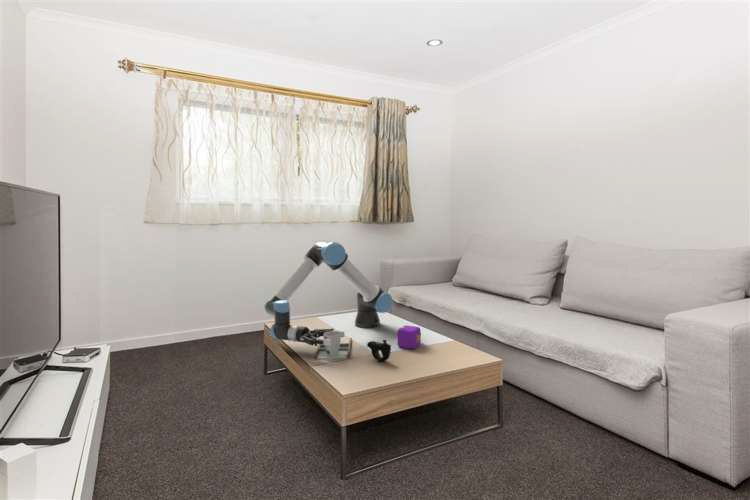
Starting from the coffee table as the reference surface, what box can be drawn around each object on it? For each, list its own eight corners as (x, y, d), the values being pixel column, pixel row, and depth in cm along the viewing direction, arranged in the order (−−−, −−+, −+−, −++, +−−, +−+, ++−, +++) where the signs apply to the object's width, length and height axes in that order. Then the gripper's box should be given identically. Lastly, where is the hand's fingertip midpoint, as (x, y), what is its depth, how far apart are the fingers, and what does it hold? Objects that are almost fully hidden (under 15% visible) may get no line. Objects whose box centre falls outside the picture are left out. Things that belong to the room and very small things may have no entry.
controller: (386, 364, 184) (386, 342, 183) (366, 359, 192) (365, 337, 191) (393, 362, 187) (392, 340, 186) (372, 356, 195) (371, 335, 194)
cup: (324, 351, 202) (323, 331, 201) (341, 350, 203) (340, 330, 202) (323, 357, 194) (323, 336, 193) (341, 356, 195) (340, 335, 194)
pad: (347, 351, 203) (347, 350, 203) (346, 358, 193) (346, 357, 193) (319, 351, 203) (319, 351, 203) (316, 358, 193) (316, 358, 193)
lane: (351, 340, 220) (351, 337, 220) (349, 358, 193) (348, 355, 193) (321, 341, 220) (321, 338, 220) (314, 359, 193) (314, 355, 193)
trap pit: (348, 345, 211) (348, 343, 211) (347, 351, 203) (347, 348, 203) (321, 346, 211) (321, 343, 211) (319, 351, 203) (319, 348, 203)
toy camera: (423, 342, 215) (423, 323, 214) (417, 350, 202) (417, 330, 201) (403, 340, 218) (403, 321, 218) (396, 348, 206) (395, 328, 205)
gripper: (313, 334, 216) (349, 338, 208) (284, 349, 194) (324, 354, 185) (312, 320, 216) (349, 323, 207) (283, 333, 193) (323, 338, 185)
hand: (337, 338), depth 196 cm, fingers open, 13 cm apart
